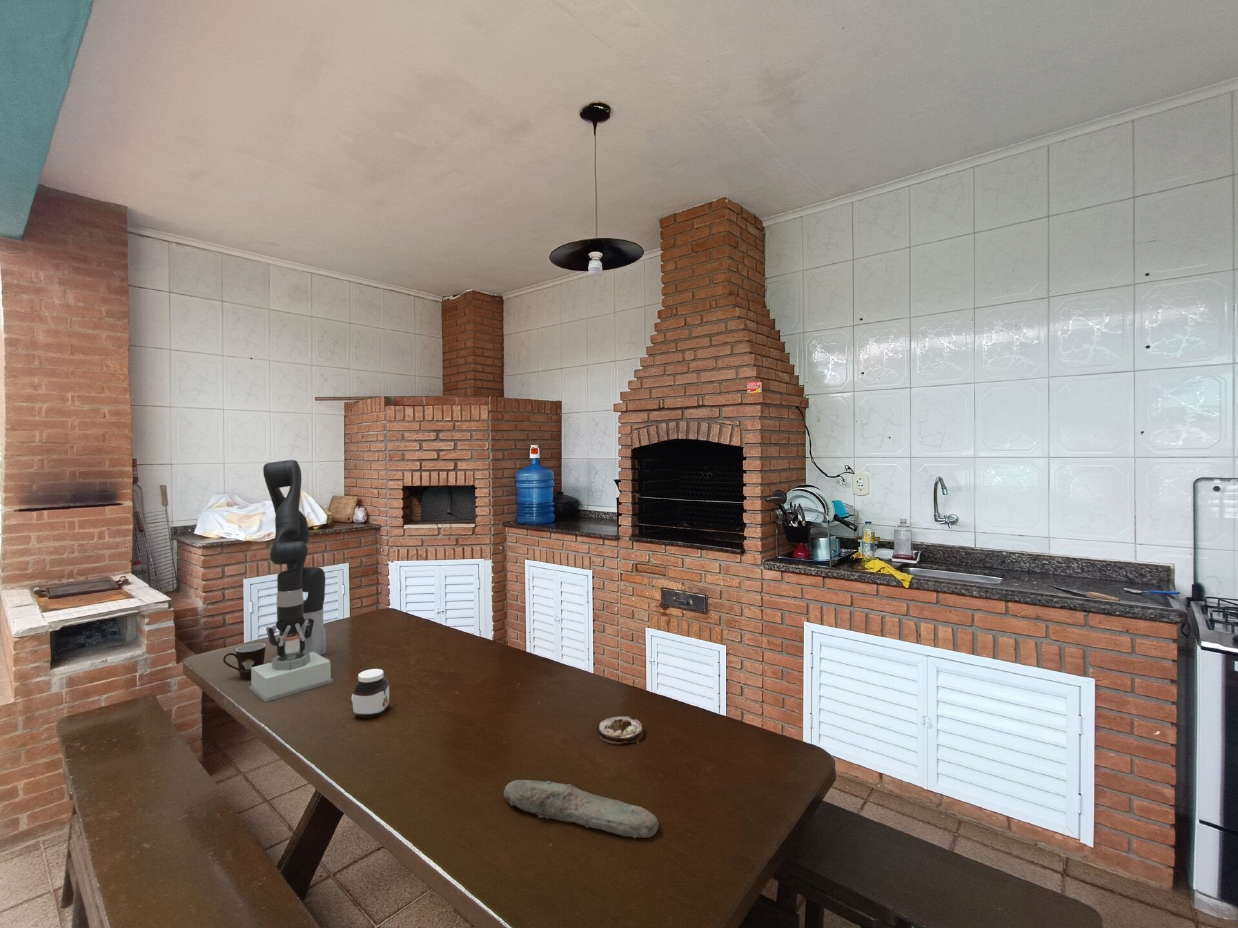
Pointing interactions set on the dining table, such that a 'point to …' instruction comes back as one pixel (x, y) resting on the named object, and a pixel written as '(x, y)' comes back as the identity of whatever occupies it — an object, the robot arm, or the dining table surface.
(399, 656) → the dining table surface
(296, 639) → the spout can
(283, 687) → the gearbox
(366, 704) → the spread jar
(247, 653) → the coffee mug
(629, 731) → the sushi roll
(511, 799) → the long grey stone
